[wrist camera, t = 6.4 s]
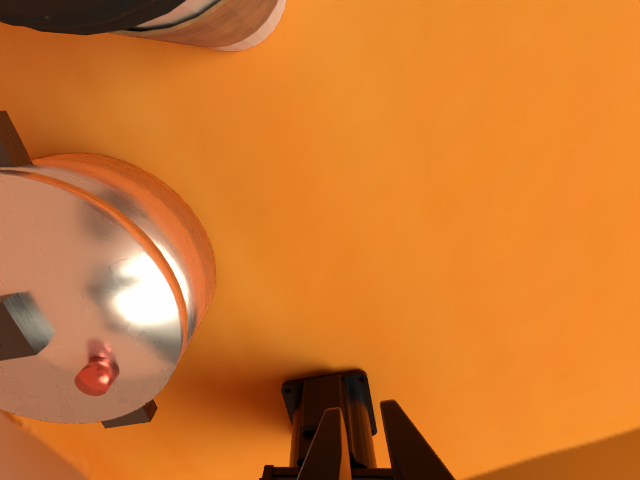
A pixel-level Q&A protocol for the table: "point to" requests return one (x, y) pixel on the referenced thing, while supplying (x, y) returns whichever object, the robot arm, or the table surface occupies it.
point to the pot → (144, 210)
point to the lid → (81, 305)
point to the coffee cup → (153, 19)
